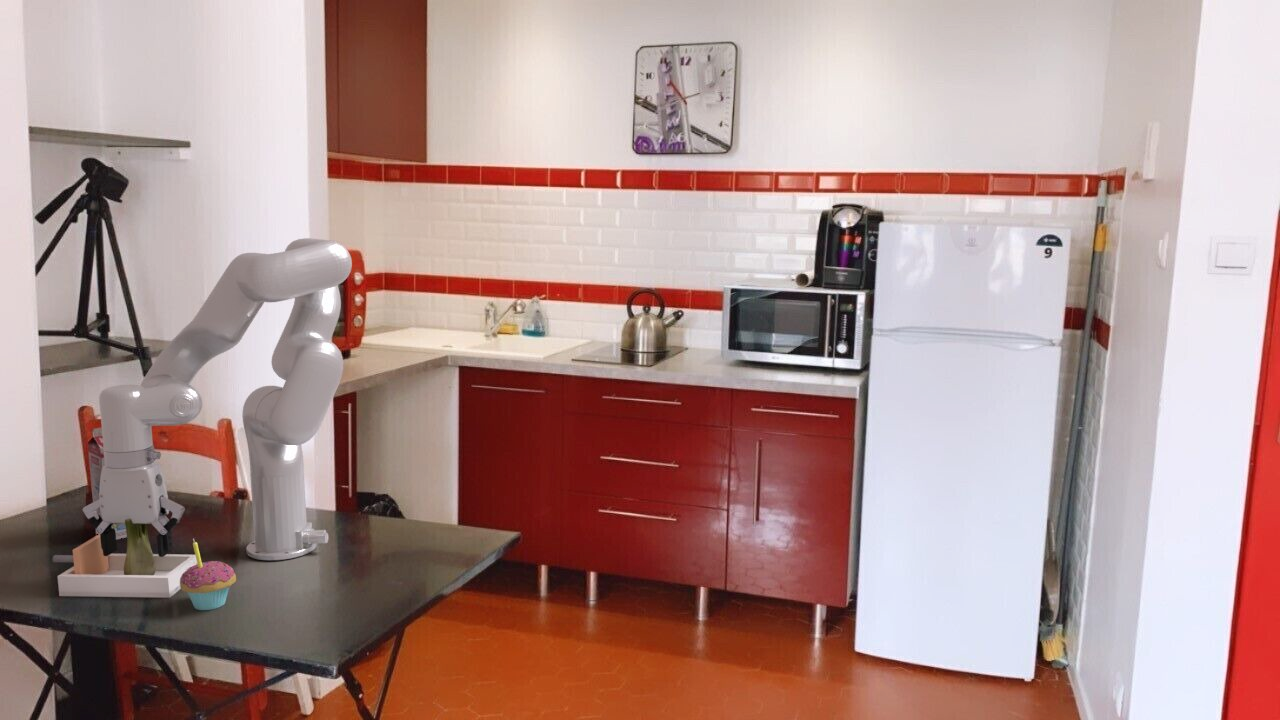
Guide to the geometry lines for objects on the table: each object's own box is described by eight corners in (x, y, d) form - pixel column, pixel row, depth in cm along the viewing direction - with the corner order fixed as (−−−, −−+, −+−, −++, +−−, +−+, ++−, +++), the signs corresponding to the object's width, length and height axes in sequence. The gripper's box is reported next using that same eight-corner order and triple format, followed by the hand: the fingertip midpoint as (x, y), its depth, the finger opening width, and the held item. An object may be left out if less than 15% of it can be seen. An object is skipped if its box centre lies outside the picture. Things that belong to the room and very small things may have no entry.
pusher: (109, 568, 181) (105, 533, 180) (81, 587, 173) (78, 550, 172) (70, 568, 182) (67, 532, 180) (41, 586, 173) (37, 549, 172)
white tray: (200, 573, 182) (198, 554, 182) (169, 597, 171) (168, 577, 171) (96, 571, 183) (94, 553, 182) (59, 595, 172) (57, 576, 171)
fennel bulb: (147, 572, 181) (142, 506, 179) (165, 577, 178) (160, 511, 176) (116, 582, 176) (111, 515, 174) (134, 588, 173) (129, 520, 171)
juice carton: (96, 533, 203) (86, 426, 200) (130, 525, 208) (121, 420, 204) (108, 541, 199) (98, 431, 195) (143, 533, 204) (134, 426, 200)
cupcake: (202, 619, 163) (197, 547, 161) (170, 607, 167) (164, 537, 165) (248, 601, 170) (243, 532, 168) (216, 590, 174) (211, 523, 172)
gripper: (189, 452, 177) (196, 547, 179) (92, 451, 177) (100, 545, 180) (168, 464, 169) (176, 562, 172) (66, 463, 170) (76, 560, 173)
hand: (137, 553), depth 176 cm, fingers open, 9 cm apart
